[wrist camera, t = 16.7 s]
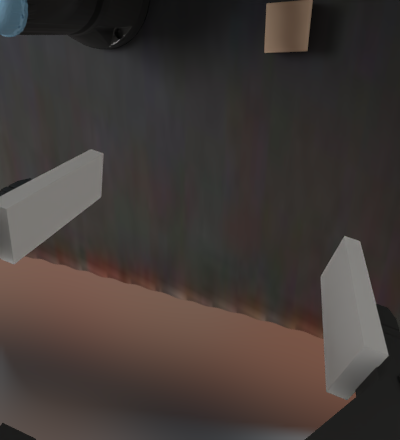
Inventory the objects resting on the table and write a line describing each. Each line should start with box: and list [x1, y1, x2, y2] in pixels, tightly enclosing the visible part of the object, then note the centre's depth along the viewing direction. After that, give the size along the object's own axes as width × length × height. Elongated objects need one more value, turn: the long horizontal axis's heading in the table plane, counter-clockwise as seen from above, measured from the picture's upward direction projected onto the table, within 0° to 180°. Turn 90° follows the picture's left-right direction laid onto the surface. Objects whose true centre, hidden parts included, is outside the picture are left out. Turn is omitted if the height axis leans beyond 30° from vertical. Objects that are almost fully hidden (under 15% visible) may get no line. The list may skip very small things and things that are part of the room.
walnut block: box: [264, 0, 313, 53], centre depth 39 cm, size 5×5×5 cm
